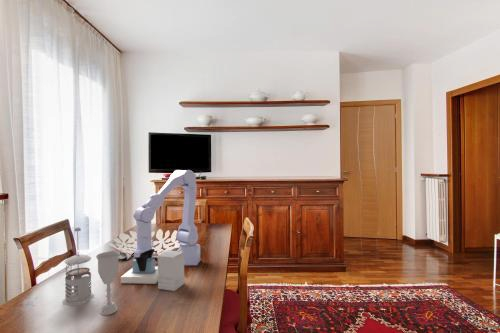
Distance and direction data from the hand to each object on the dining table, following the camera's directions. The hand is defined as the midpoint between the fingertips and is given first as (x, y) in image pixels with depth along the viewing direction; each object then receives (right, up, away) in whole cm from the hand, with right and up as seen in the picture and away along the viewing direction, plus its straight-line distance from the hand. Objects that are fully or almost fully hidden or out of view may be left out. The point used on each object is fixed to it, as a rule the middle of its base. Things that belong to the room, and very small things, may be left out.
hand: (144, 269), depth 119 cm
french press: (-17, -4, -18) cm, 25 cm away
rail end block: (0, -3, 0) cm, 3 cm away
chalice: (-2, -4, -27) cm, 27 cm away
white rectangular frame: (0, -3, 0) cm, 3 cm away
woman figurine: (-18, -4, +28) cm, 33 cm away
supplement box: (+13, -4, -9) cm, 17 cm away
